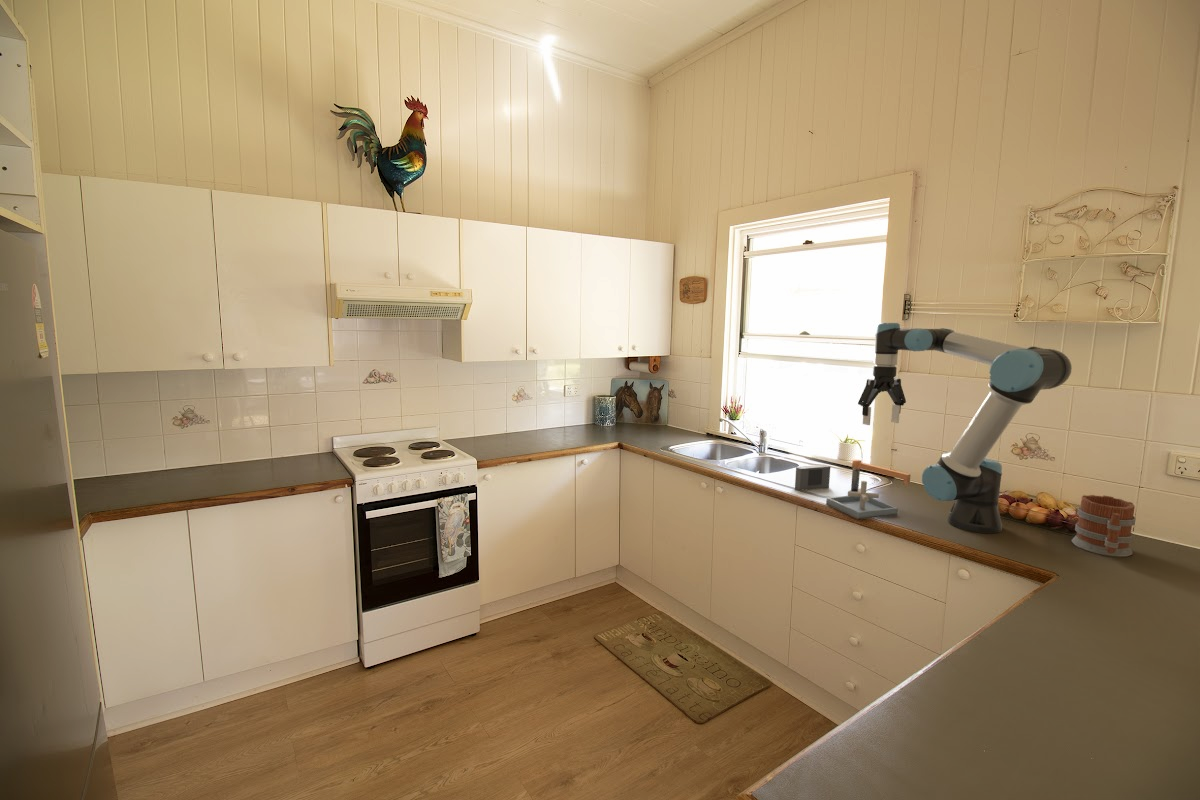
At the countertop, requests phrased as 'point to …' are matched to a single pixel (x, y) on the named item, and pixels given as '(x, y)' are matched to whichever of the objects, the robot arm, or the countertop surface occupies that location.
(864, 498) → the pipe connector
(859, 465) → the tan bar handle
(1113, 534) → the mug
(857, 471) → the post
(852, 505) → the tray
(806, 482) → the socket block
